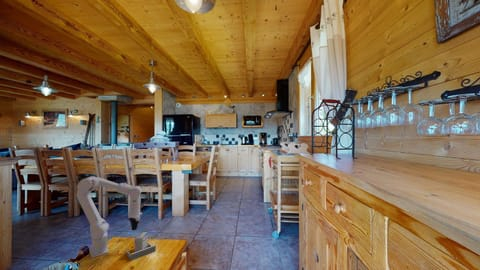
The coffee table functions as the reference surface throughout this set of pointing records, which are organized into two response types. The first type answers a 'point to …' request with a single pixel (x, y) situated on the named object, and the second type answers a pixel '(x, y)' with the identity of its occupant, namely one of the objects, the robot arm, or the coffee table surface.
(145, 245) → the medicine box
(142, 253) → the tray
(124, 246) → the coffee table surface
